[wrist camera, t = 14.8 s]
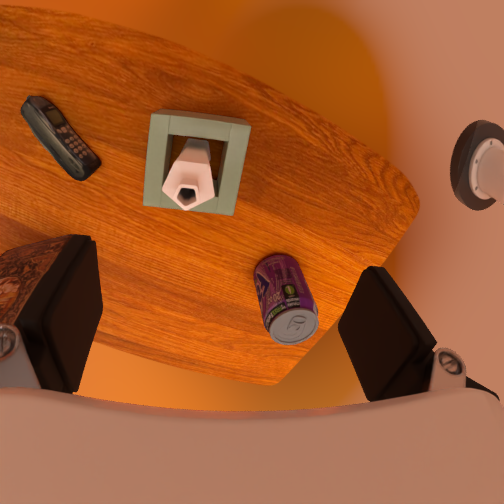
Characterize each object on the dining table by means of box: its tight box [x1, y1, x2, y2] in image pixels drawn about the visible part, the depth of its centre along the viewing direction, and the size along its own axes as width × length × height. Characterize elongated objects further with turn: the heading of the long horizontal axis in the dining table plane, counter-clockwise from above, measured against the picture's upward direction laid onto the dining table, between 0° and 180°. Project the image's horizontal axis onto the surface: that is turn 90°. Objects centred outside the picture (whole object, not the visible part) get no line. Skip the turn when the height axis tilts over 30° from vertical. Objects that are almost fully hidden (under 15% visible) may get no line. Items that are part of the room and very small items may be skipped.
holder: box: [143, 109, 251, 216], centre depth 33 cm, size 10×10×6 cm
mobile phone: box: [21, 95, 101, 181], centre depth 28 cm, size 5×3×15 cm
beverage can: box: [254, 255, 319, 345], centre depth 41 cm, size 7×7×12 cm
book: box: [0, 234, 73, 325], centre depth 29 cm, size 16×6×25 cm, turn 96°
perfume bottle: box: [162, 138, 215, 211], centre depth 29 cm, size 5×4×15 cm
